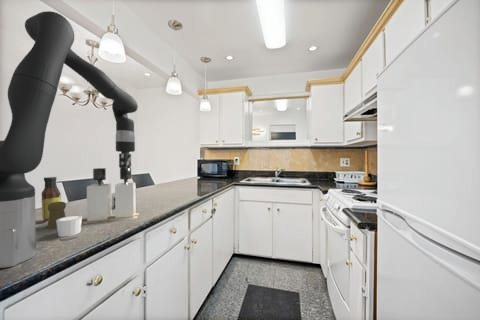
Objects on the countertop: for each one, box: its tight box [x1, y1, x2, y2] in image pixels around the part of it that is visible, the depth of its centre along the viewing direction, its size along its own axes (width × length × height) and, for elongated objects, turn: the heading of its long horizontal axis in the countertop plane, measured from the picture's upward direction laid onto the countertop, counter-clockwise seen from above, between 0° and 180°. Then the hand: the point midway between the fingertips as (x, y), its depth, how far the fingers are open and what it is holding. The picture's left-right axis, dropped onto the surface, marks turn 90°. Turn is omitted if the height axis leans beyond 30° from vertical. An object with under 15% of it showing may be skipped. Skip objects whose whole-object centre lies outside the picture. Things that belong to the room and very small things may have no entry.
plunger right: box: [119, 167, 132, 185], centre depth 86 cm, size 5×5×20 cm
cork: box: [46, 201, 67, 230], centre depth 74 cm, size 6×6×11 cm
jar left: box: [86, 183, 112, 222], centre depth 83 cm, size 7×7×15 cm
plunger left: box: [92, 167, 107, 186], centre depth 83 cm, size 5×5×20 cm
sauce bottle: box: [41, 176, 62, 223], centre depth 85 cm, size 7×6×20 cm
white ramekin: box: [56, 215, 83, 242], centre depth 67 cm, size 7×7×7 cm
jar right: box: [114, 182, 137, 219], centre depth 86 cm, size 7×7×15 cm
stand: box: [81, 211, 140, 225], centre depth 85 cm, size 10×20×2 cm, turn 112°
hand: (125, 176), depth 86 cm, fingers open, 8 cm apart
